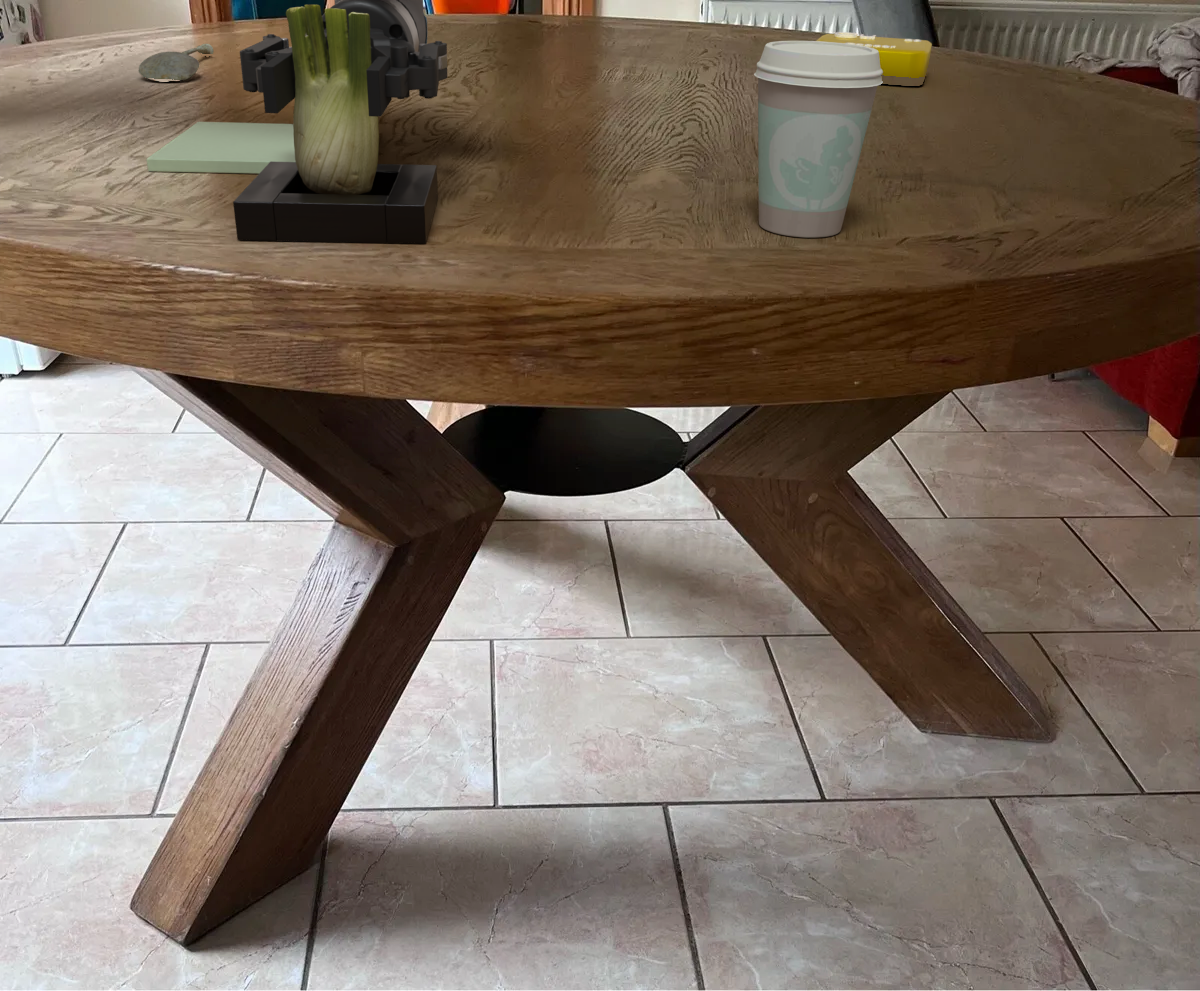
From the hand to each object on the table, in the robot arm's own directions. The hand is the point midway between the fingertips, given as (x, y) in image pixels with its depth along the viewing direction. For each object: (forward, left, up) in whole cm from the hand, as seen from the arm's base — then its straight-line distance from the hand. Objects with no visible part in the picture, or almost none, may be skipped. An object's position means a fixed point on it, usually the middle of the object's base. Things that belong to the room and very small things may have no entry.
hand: (321, 91), depth 69 cm
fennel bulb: (0, +5, -8) cm, 9 cm away
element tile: (+59, +84, -9) cm, 103 cm away
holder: (0, +5, -9) cm, 10 cm away
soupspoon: (-28, +73, -9) cm, 79 cm away
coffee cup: (+32, +5, -9) cm, 34 cm away
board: (-9, +26, -9) cm, 29 cm away
